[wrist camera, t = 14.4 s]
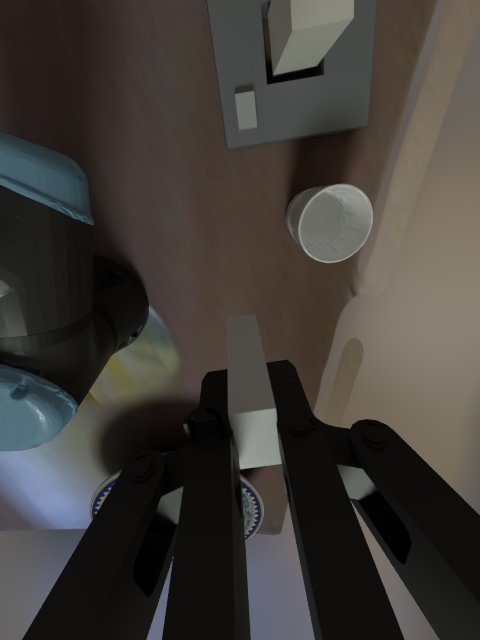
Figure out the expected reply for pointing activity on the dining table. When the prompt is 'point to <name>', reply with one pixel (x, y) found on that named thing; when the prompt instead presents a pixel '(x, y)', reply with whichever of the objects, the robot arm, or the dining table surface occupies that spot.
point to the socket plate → (291, 96)
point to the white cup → (330, 221)
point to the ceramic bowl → (250, 502)
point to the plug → (305, 31)
